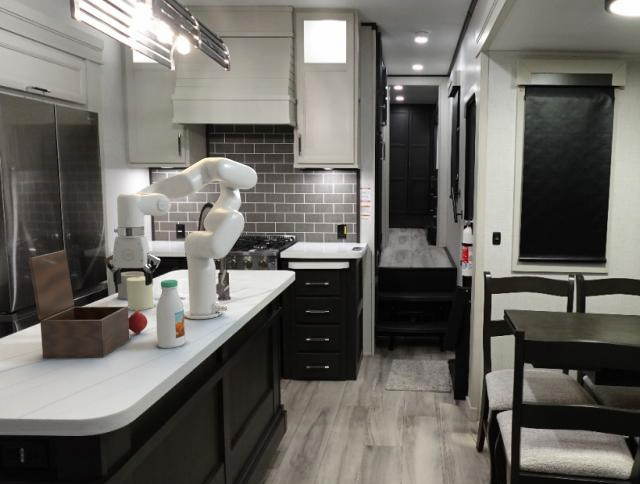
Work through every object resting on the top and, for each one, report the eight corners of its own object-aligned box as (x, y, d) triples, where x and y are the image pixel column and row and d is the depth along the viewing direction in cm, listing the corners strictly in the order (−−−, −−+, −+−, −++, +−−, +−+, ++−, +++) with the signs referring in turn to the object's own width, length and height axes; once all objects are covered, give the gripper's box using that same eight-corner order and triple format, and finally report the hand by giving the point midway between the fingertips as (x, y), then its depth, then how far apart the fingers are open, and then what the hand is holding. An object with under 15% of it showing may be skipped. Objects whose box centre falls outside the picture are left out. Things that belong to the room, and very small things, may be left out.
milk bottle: (167, 350, 147) (164, 284, 145) (152, 345, 151) (149, 281, 149) (190, 343, 153) (188, 280, 151) (175, 338, 157) (173, 277, 155)
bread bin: (129, 339, 156) (128, 306, 155) (103, 357, 140) (101, 320, 139) (75, 340, 155) (73, 306, 154) (42, 358, 139) (40, 320, 138)
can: (149, 303, 201) (148, 274, 200) (157, 307, 195) (156, 277, 193) (124, 306, 195) (123, 277, 193) (131, 311, 188) (130, 280, 187)
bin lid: (65, 250, 151) (63, 250, 151) (31, 258, 136) (28, 258, 136) (74, 305, 154) (71, 305, 154) (41, 319, 138) (38, 319, 138)
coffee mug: (115, 299, 206) (113, 276, 204) (122, 294, 215) (121, 271, 214) (149, 298, 209) (148, 275, 208) (155, 293, 218) (154, 271, 217)
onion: (139, 337, 159) (138, 312, 158) (123, 335, 160) (122, 311, 159) (151, 331, 164) (150, 308, 163) (136, 330, 165) (135, 307, 165)
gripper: (97, 232, 154) (99, 286, 156) (154, 233, 155) (155, 287, 157) (110, 230, 162) (112, 282, 163) (164, 231, 163) (165, 282, 164)
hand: (133, 284), depth 160 cm, fingers open, 9 cm apart
